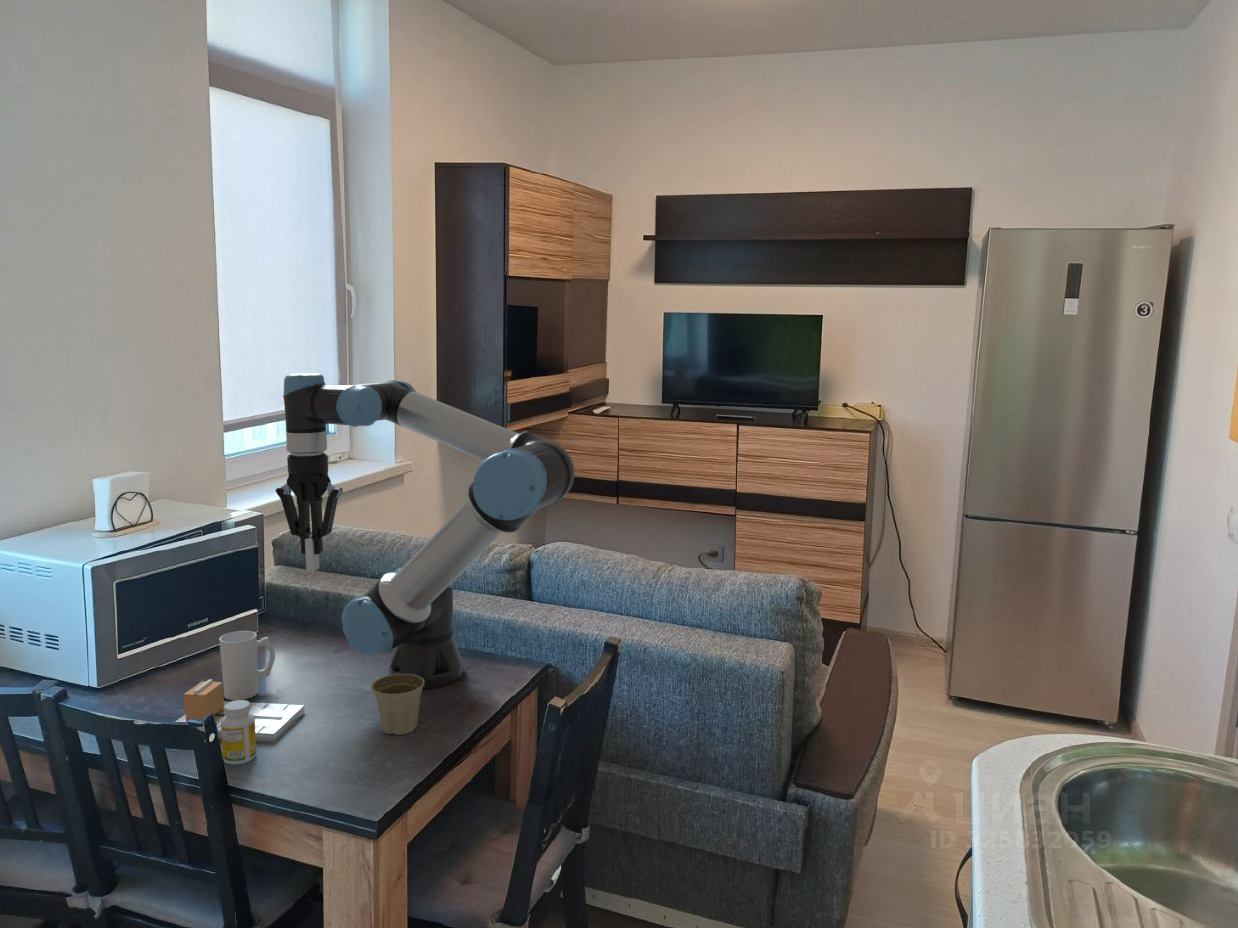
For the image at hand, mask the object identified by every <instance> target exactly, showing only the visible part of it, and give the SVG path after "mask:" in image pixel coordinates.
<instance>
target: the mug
mask: <svg viewBox="0 0 1238 928" xmlns="http://www.w3.org/2000/svg"><path fill="white" fill-rule="evenodd" d="M257 635H258V634H257V633H256V632H255V631H251V630H238V631H237V630H236V631H232V632H228V633H225V634H223V635H221V636H220V637H218V638H219V649H220V653H219V654H220V660H221V661H220V662H221V673H222V682H223V696H224V699H226V700H230V701H236V700H248V699H250V698H254V697H255V696H256V695H258V693H259V680H260V679H261V678H265V677H269V676H270V675H271V672H272V669H273V665H274V663H275V659H276V650H275V648H274V646H273V644H272V643H271V641H270V639H269V637H268V636H265V637H261V638H260V639H258V640H257ZM259 647H265V648H266V649H267V651H268V652H269V653H268V654H269V657H268V662H267V664H266V666H265V667H264V668H263V669H259V667H258V649H259Z"/></svg>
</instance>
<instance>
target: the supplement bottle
mask: <svg viewBox="0 0 1238 928" xmlns="http://www.w3.org/2000/svg"><path fill="white" fill-rule="evenodd" d="M250 703H251V702H250V701H248V700H247V699H244V700H231V701H230V702H229V703H227V704H226V705H225V706H224V713H225V715H226V716H224V718H223V719H222V720H221V737H222V739H221V748H222V749H221V750H222V754H221V755H222V760H223V759H224V761H223V762H224V763H226V764H227V765H231V766H232V765H233V766H235V765H243V764H246V763H249V762H250V761H253V759H255V757H256V756H257V741H256V734H255V717H254V715H253V714H252V713H250Z"/></svg>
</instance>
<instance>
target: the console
mask: <svg viewBox="0 0 1238 928" xmlns="http://www.w3.org/2000/svg"><path fill="white" fill-rule="evenodd" d="M229 702H231V700H230V701H227V700H224V706H225V705H226V704H227V703H229ZM249 703H250V713H252V714H253V715H254V717H255V734H256V742H263V743H264V742H267V743H276V741H277V740H278V739H280V737H282V736H283V735H284V734H285V733H286V732H287V730H288V729H290V728H291V727H292V726H293V725H294V724H295V723H296V722H298V720H299V719H301V717H303V715H304V714H305V705H304V704H286V703H266V702H263V703H262V702H249ZM214 716H215V720H216V723H217V729H218V735H219V738H220V739H219V740H222V737H221V720H222V719H223V718H224V716H226V715H225V713H224V708H223V709H222V710H220V711H219V712H218V713H217V714H215V715H214ZM187 721H188V720H186V717H185V714H183V715H182V716H181V717H179V718H178V719H176V721H174V722H187Z"/></svg>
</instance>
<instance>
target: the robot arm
mask: <svg viewBox="0 0 1238 928" xmlns="http://www.w3.org/2000/svg"><path fill="white" fill-rule="evenodd" d="M282 397H283V403H284V404H283V405H284V415H285V437H286V452H288V453H289V454H288V455H287V456H286V457H287V461H286V462H287V472H288V477H287V479H286V482H285V484H284V485H282V486H280V487H277V488H276V489H275V493H276V495H278V497H279V499H280V500H281V504H282V507H283V511H284V514H285V518H286V521H287V525H288V528H289V532H290V535H292V536H297V537H299V539H300V548H301V549H300V551H301V554H303V555H305V568H306V572H316V570H318V569H320V554H322V553H323V551H324V548H323V547H324V546H323V537H325V536H327V535H330V534H331V533H332V531H333V525H334V521H335V515H336V512H337V511H336V510H337V505H338V499H339V498H340V496H341V494H342V493H343V488H342V487H340V486H338V487H337V486H335V485H334V484H333V483H332V482H331V479H330V477H329V476H330V475H329V458H328V454H327V453H326V451H327V450H328V441H327V440H328V438H327V437H328V436H327V435H328V434H327V425H338V426H339V425H341V426H351V427H352V428H353V427H355V428H356V427H357V428H358V427H369V426H371V425H373V424H375V423H376V422H377V421H388V422H391V423H393V424H395V425H398V426H400V427H403V428H405V429H408V430H410V431H413V432H415V433H417V434H419V435H422V436H424V437H426V438H429V439H431V440H434V441H435V442H438V443H440V444H443V445H445V446H447V447H450V448H452V449H454V450H456V451H459V452H461V453H465V454H466V455H469V456H471V457H474V458H475V459H478V460H480V461H482V462H481V464H480V465H479V466H478V467H477V470H476V472H475V474H474V476H473V482H472V483H471V484H470V485H469V486H468V488H467V500H466V501H465V503H463V504H462V506H460V508H459V509H458V510H456V512H455V513H454V514H453V515H452V516H451V517H450V518H449V519H448V520H447V521H446V522H445V523H444V524H443V525H442V526H441V527H440V528H439V529H438V530H437V531H436V532H435V533H434V535H432V537H430V539H428V541H427V542H426V543H424V544H423V546H422V547H421V548H420V549H419V550H418V551H417V552H416V553H415V554H414V555H413V556H412V557H411V558H410V559H409V560H408V561H407V562H406V563H405V564H404V565H403V566H401V567H398V568H397V569H395V570H394V571H390V572H387V573H386V574H384V575H382V577H380V579H378V581H377V582H376V583H375V584H374V585H373V586H372V587H371V588H370V589H369V590H368V591H367V592H366V593H364V594H363V595H362V596H356V597H355V598H353V599H352V600H351V601H349V602H348V603H347V604H346V606H345V607H344V609H343V611H342V613H341V614H342V616H341V623H342V629H343V633H344V635H345V638H346V639H347V641H348V643H349V644H350V646H352V647H353V649H355V651H357V652H358V653H360V654H362V655H365V656H368V657H378V656H380V655H383V654H388V653H389V652H390V651H391V650H393V652H392V657H391V659H390V663H389V666H388V667H389V668H388V675H394V674H414V675H417V676H420V677H422V678H423V679H424V681H425V683H424V686H423V687H422V689H429V688H430V689H431V688H438V687H442V686H446V685H449V684H451V683H454V682H455V681H457V680H459V679H460V678H461V677H462V675H463V674H464V673H463V671H464V670H463V668H464V666H463V665H464V664H463V660H462V657H461V654H460V652H459V648H458V646H457V643H456V641H455V638H454V606H453V605H454V601H453V600H454V599H453V590H454V586H453V582H454V581H455V580H456V579H457V578H458V577H459V576H460V575H461V574H463V572H464V571H465V570H467V568H468V567H469V566H470V565H471V564H472V563H474V562H475V560H476V559H477V558H478V557H480V555H481V554H482V553H484V551H485V550H487V548H488V547H490V546H491V545H492V544H493V542H494V541H496V540H497V539H498V538H499V537H500V535H502V534H513V533H515V532H517V531H518V530H519V529H520V527H522V526H523V525H524V524H525V523H526V522H527V521H528V520H529V519H530V518H531V517H532V516H533V515H534V514H536V512H538V510H540V509H541V508H545V507H546V506H549V505H551V504H553V503H556V502H558V501H560V500H562V499H563V498H564V497H565V496H566V495H567V494H568V492H570V490H571V488H572V486H573V484H574V479H575V465H574V462H573V459H572V457H571V455H570V454H569V452H568V451H567V450H566V449H565V448H564V447H563V446H561V445H560V444H559V443H557V442H555V441H553V440H551V439H548V438H545V437H543V436H540V435H538V434H535V433H534V432H531V431H526V430H524V431H522V432H521V433H518V432H516V431H513V430H510V429H508V428H506V427H503V426H502V425H498V424H496V423H493V422H491V421H489V420H486V419H483V418H481V417H479V416H476V415H473V414H471V413H469V412H466V411H464V410H462V409H458V408H456V407H454V406H452V405H449V404H446V403H444V402H441V401H439V400H437V399H434V398H431V397H428V396H427V395H425V394H422V393H420V392H417V391H416V389H415V388H414V387H413V385H412V384H410V383H409V382H407V381H403V380H397V379H396V380H395V379H393V380H386V381H378V382H372V383H360V384H357V383H356V384H349V385H336V384H335V385H334V384H333V385H329V384H326V382H325V377H324V375H323V374H321V373H317V372H316V373H314V372H312V373H308V372H307V373H306V372H304V373H303V372H302V373H290V374H287V375H285V377H284V379H283V396H282ZM326 492H327V496H328V497H327V499H326V504H325V508H324V515H323V508H322V507H323V506H322V504H323V496H324V495H325V493H326ZM292 493H293V494H294V495H295V497H296V505H297V508H296V505H295V500H294V498H293V494H292Z"/></svg>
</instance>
